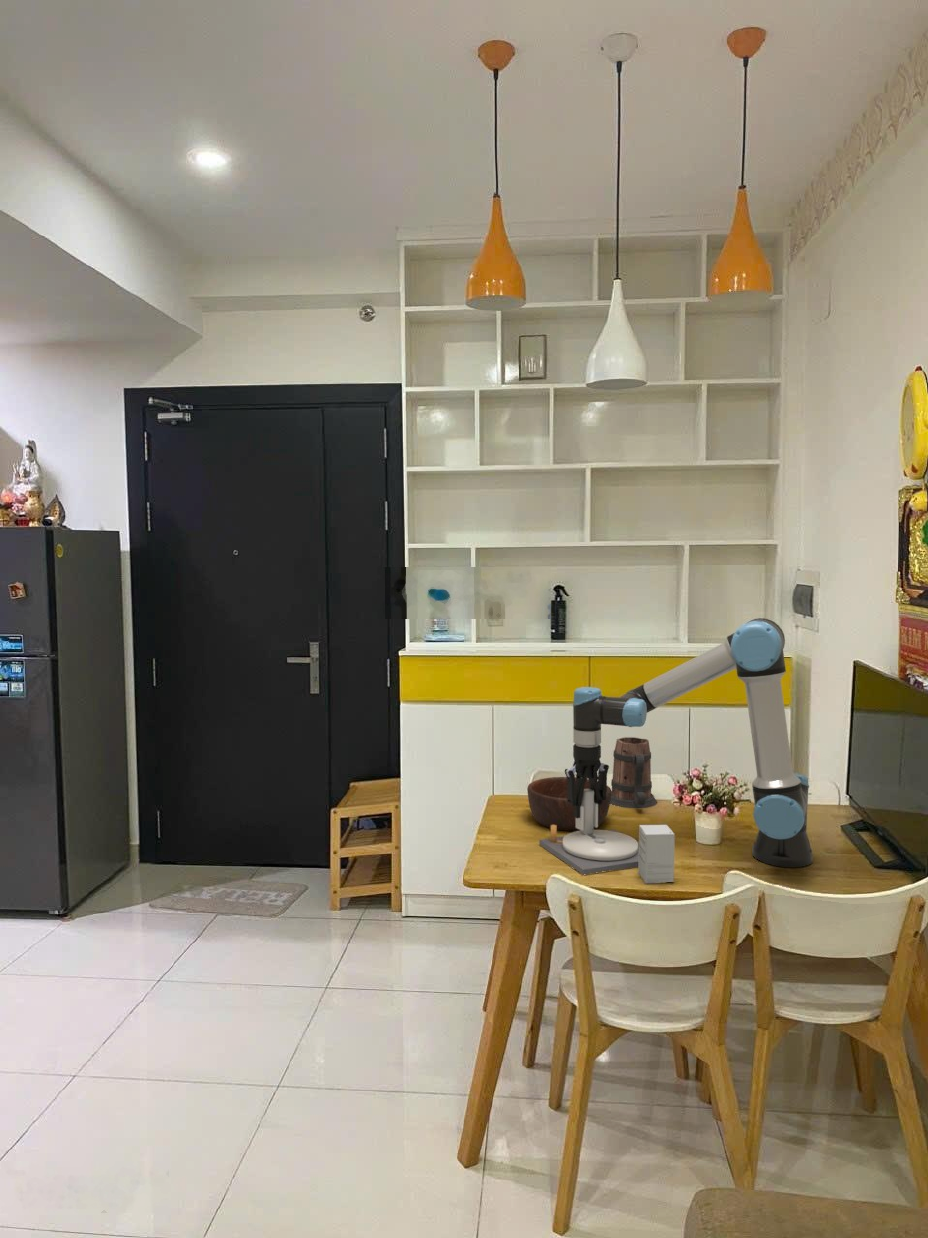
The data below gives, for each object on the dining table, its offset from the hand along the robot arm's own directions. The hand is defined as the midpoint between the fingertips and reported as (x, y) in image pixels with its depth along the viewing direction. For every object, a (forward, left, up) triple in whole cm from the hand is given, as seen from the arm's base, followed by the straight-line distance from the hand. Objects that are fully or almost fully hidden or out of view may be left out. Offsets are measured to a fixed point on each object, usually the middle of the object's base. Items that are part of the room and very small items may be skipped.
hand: (586, 827), depth 244 cm
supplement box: (-27, -4, -5) cm, 28 cm away
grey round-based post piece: (-7, 0, -3) cm, 8 cm away
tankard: (+29, -34, -5) cm, 45 cm away
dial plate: (-7, 0, -5) cm, 9 cm away
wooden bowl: (+21, -6, -5) cm, 22 cm away
